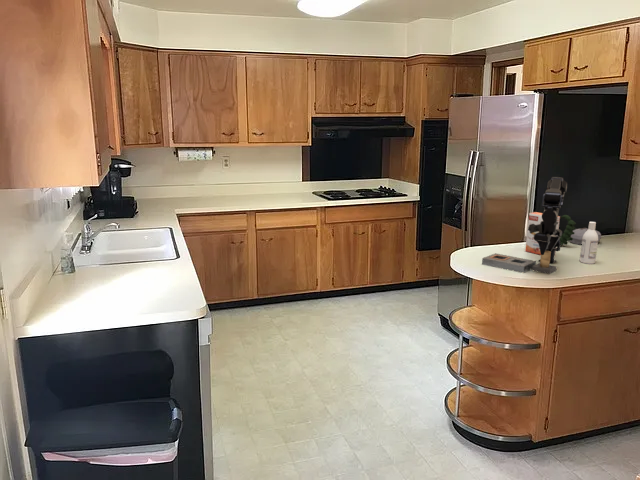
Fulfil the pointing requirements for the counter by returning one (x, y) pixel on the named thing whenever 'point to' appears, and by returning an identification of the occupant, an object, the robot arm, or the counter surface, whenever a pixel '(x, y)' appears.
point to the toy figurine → (567, 231)
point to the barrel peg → (545, 259)
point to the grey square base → (543, 269)
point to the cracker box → (530, 242)
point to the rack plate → (508, 262)
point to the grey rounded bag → (581, 235)
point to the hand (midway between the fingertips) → (546, 253)
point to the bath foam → (589, 245)
